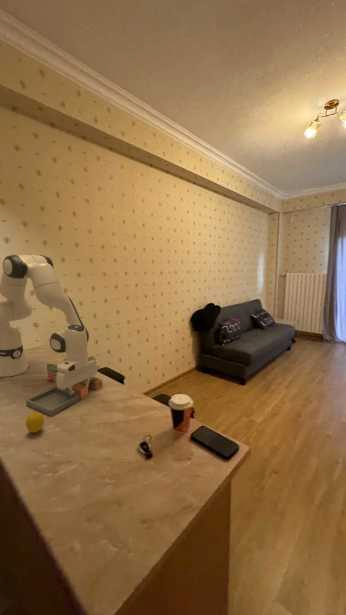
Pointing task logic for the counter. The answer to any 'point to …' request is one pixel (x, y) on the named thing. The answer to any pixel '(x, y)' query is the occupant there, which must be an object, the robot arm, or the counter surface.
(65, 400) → the charcoal tray
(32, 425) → the lemon
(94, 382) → the walnut brick
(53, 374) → the stack of blocks
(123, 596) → the counter surface
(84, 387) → the terracotta brick
